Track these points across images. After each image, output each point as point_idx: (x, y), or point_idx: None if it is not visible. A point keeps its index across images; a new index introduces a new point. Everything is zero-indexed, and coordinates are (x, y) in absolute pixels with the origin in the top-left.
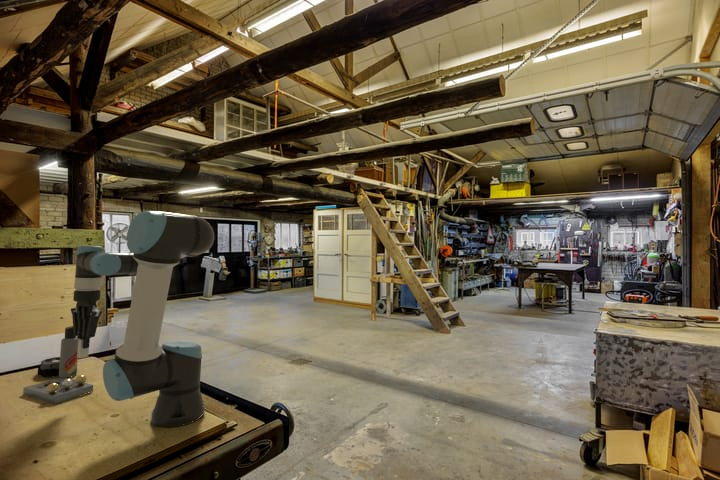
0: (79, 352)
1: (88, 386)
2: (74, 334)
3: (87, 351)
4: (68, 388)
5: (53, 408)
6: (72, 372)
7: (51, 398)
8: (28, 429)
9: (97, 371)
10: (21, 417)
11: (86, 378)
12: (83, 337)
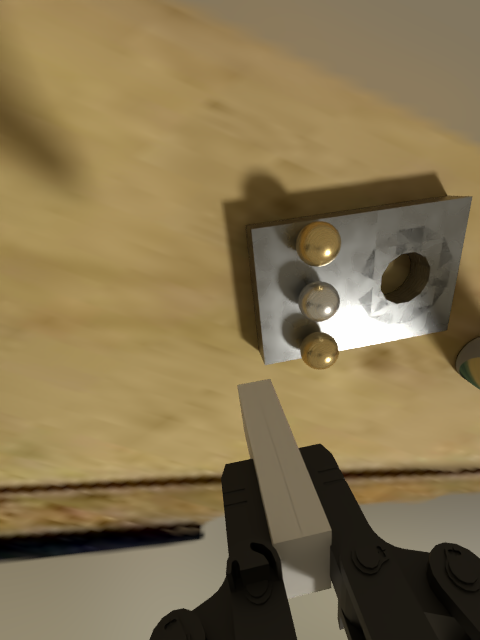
0: (255, 414)
1: (263, 349)
2: (458, 566)
3: (250, 457)
4: None
5: (203, 203)
6: (468, 370)
7: (273, 223)
8: (19, 27)
9: (430, 422)
10: (203, 78)
11: (308, 365)
12: (247, 594)
